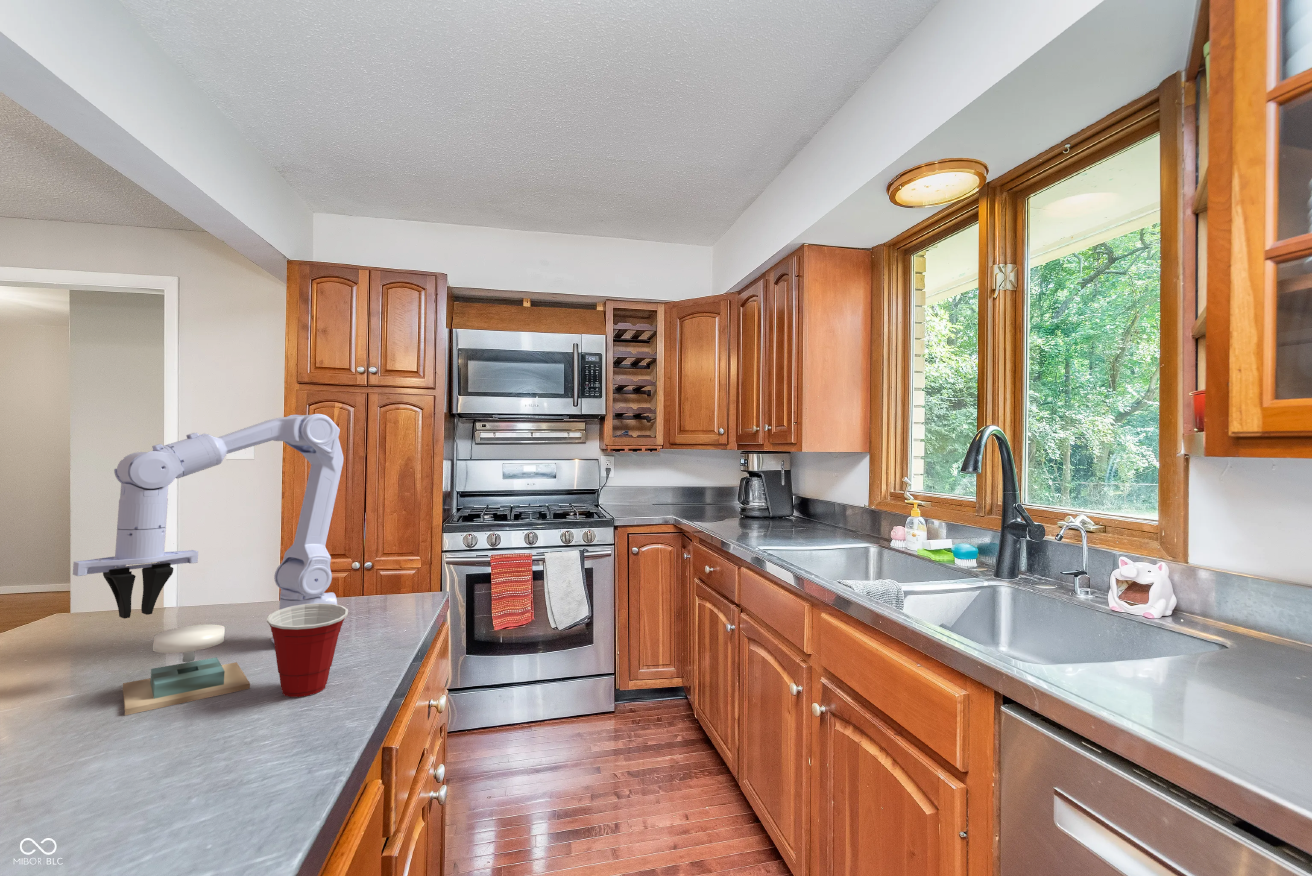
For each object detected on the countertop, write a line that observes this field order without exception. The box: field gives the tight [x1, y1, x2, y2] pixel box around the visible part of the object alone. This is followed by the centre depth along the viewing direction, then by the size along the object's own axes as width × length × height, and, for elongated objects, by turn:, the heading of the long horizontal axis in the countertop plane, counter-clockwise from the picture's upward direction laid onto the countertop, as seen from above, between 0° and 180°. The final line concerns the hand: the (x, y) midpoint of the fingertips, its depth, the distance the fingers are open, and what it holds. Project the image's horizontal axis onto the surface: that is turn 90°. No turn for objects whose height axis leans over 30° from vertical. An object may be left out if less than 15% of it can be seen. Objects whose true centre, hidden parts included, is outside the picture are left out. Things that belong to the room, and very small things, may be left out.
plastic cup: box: [266, 603, 349, 698], centre depth 87 cm, size 11×11×12 cm
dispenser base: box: [122, 657, 251, 716], centre depth 86 cm, size 14×12×3 cm
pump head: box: [152, 623, 226, 663], centre depth 86 cm, size 8×8×4 cm
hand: (135, 615), depth 88 cm, fingers open, 2 cm apart
